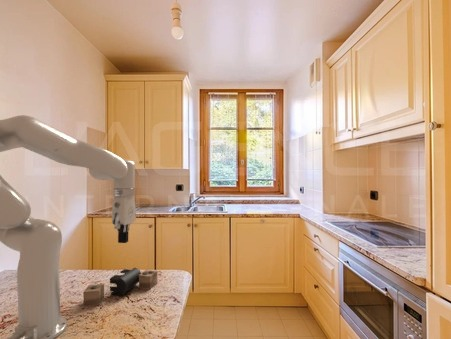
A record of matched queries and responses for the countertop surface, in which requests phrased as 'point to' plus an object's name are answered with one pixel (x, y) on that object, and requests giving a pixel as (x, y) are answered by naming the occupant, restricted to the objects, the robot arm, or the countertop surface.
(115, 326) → the countertop surface
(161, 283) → the countertop surface
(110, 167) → the robot arm
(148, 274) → the marked block
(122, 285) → the black arched block
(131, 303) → the countertop surface
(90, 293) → the marked block
